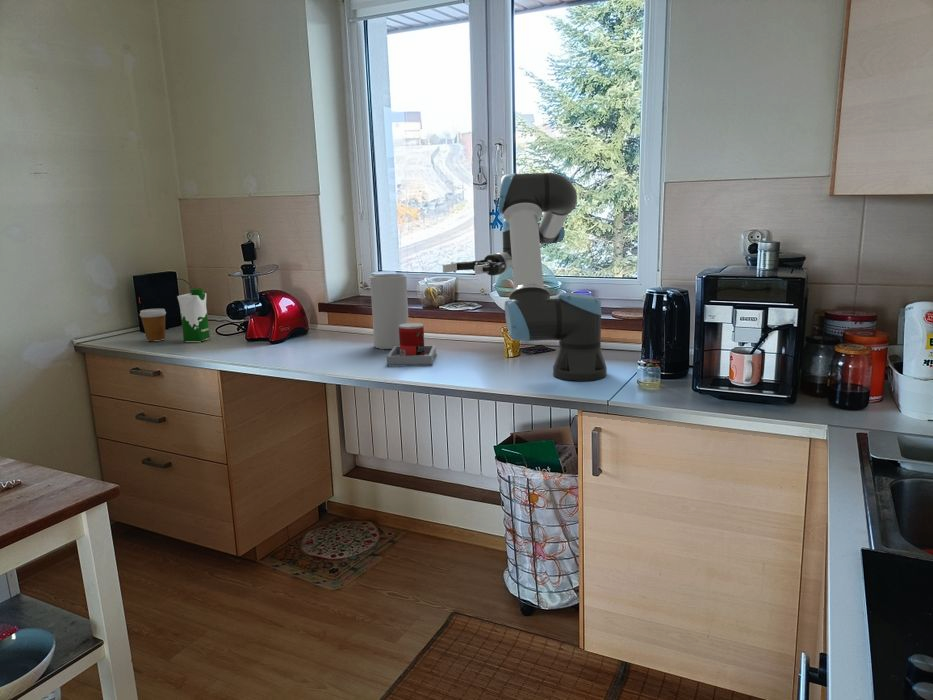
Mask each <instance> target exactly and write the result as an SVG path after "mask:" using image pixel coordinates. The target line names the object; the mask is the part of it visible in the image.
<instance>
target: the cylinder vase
mask: <svg viewBox="0 0 933 700" xmlns="http://www.w3.org/2000/svg"><path fill="white" fill-rule="evenodd" d="M369 281H370V300H371V314H372V315H371V316H372V332H373V335H372V336H373V346H374V347H375V348H376V349H378V348H379V350H384V349H392V348H393V347H394V346H400V341H399V325H400V324H404V323H410V321H409V306H408V305H409V303H408V282H407V281H408V280H407V274H403V273H402V274H401V273H387V274H386V273H385V274H376V275H375V274H374V275H370V276H369Z"/></svg>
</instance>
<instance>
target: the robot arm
mask: <svg viewBox="0 0 933 700" xmlns="http://www.w3.org/2000/svg"><path fill="white" fill-rule="evenodd" d="M499 189H500V191H499V200H498V213H499V214H502V215H503V218H504V219H503V220H502V231H501V232H502V252H497V253H490V254H487V255H486V256H485V257H484V259H480V260H473V261H461V262H459V261H458V262H450V263H445V264H442V273H443V274H446V273H456V272H457V271H470V270H471V271H474V275H481V274H487V275H489V276H499V275H501V274H502V273H504V272H506V271H507V270H508V267H510V265H512V269H513V273H512V279H513V281H512V283H513V290H512V292H510V294H509V296H508V297H509V299H506V300H505V302H504V313H505V322H506V328H507V331H508V334H509V336H510V338H511V339H512V340H513V341H517V342H518V341H521V342H534V341H559V343H558V344H559V345H558V346H559V347H558V350H557V351H558V352H557V355H556V357H555V361H554V364H553V367H552V369H553V370H552V375H553V377H555V376H556V377H555V378H557V377H558V378H557V379H560V378H562V379H561V380H564V379H568V380H567V381H571V380H580V381H579V382H587V381H589V382H591V381H596V380H597V381H598V380H601V379H604V378H606V377H607V375H608V374H607V365H606V362H605V359H604V355H603V351H602V348H601V347H602V345H601V344H602V343H601V341H602V337H601V336H602V315H603V314H602V313H603V312H602V306H601V305H602V304H601V300H600V299H599V298H598V297H596V296H594V295H589V294H584V293H577V292H560V293H559V295H558V298H551V295H550V291H549V290H548V289H547V288H545V286H544V277H543V274H544V273H543V266H542V265H543V264H542V251H541V245H544V244H545V245H546V244H548V245H549V244H550V245H551V243H555V244H558V243H557V242H561V241H562V240H563V238H564V239H565V237H564V236H565V234H566V233H565V232H566V231H565V230H564V228H565V226H564V227H562V226H563V224H564V225H565V221H566V220H567V217H568V215H570V214H571V213H572V212H573V210H575V207H576V205H577V201H578V195H577V191H576V187H575V186H574V185H573V183H572V182H571V181H570V180H569V179H568V178H567V177H565V176H563V175H561V174H558V173H555V172H541V173H540V172H537V173H536V172H534V173H517V172H515V173H509V174H504V175H503V176H502V177H501V179H500V188H499ZM540 219H541V220H540ZM539 220H540V222H539Z"/></svg>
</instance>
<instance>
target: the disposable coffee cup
mask: <svg viewBox="0 0 933 700" xmlns="http://www.w3.org/2000/svg"><path fill="white" fill-rule="evenodd" d="M139 312H140V313H139V314H138V315H139V316H140V319H141V322H142V326H143V329H144V333H145V338H146V340H149V341H154V340H161V339H164V338H165V339H166V314H167V311H166V309H165V308H149V309H147V308H146V309H142V310H140V311H139Z"/></svg>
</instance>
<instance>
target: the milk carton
mask: <svg viewBox="0 0 933 700" xmlns="http://www.w3.org/2000/svg"><path fill="white" fill-rule="evenodd" d="M176 298H177V301H178V305H179V309H180V310H179V311H180V320H181V326H182V327H181V328H182V337H183V338H182V339H183V342H184V341H202V340H204V339H206V338H209V337H210V338H211V335H210V329H209V320H208V310H207V293H206V292H203V288H191V289H190V293H185V294H181V295H177V296H176Z"/></svg>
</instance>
